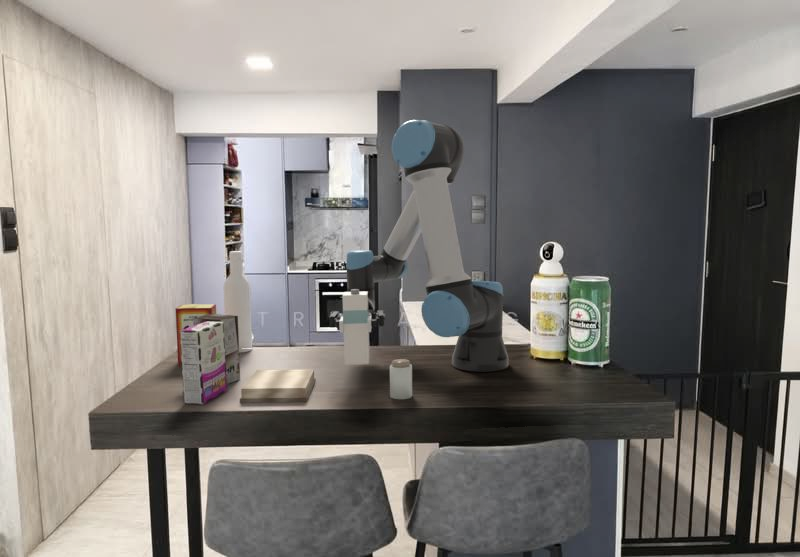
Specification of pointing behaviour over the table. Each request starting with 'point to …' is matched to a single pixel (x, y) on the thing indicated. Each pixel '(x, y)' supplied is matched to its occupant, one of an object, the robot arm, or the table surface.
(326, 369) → the table surface
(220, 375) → the candy bar box
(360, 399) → the table surface
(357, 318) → the carton
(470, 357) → the robot arm
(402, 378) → the ceramic jar
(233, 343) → the coffee box
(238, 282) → the bottle
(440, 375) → the table surface
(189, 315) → the baking soda box
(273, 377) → the podium
